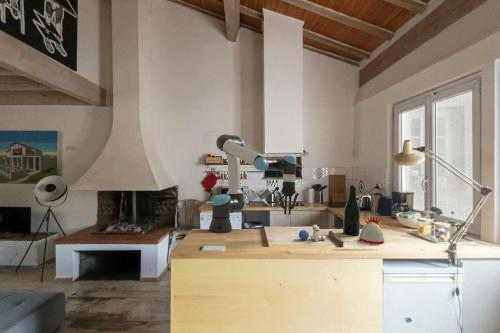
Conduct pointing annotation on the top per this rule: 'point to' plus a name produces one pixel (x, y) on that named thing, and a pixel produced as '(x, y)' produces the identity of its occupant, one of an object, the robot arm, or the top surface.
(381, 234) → the spiked dome hat
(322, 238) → the front pin
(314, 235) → the back left pin
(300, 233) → the ball
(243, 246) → the top surface
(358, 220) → the green wine bottle
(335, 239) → the back wall
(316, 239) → the back right pin
